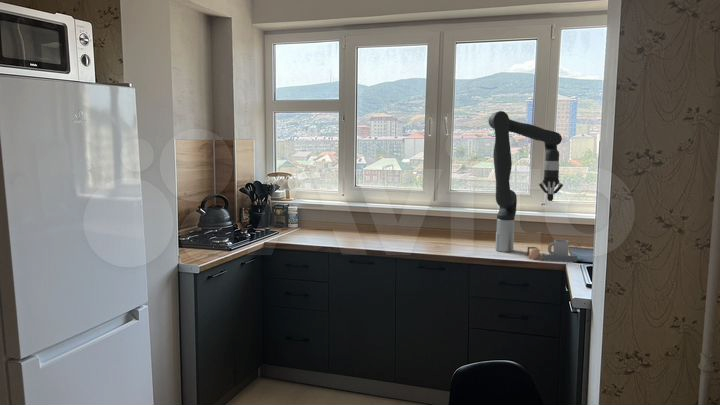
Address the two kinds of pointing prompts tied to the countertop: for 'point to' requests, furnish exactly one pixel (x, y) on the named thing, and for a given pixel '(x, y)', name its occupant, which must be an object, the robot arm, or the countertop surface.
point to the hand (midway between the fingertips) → (550, 200)
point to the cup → (559, 247)
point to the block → (529, 248)
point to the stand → (559, 257)
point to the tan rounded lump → (534, 253)
